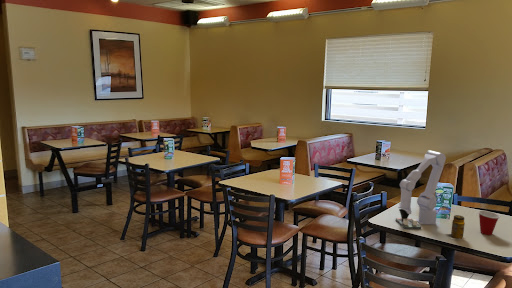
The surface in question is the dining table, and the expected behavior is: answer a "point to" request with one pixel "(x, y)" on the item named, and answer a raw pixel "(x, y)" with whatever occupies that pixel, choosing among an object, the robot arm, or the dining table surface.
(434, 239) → the dining table surface
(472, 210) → the dining table surface
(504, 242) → the dining table surface
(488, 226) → the plastic cup
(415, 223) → the breaker
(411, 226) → the breaker panel
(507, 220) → the dining table surface
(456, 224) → the condiment
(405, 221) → the breaker
